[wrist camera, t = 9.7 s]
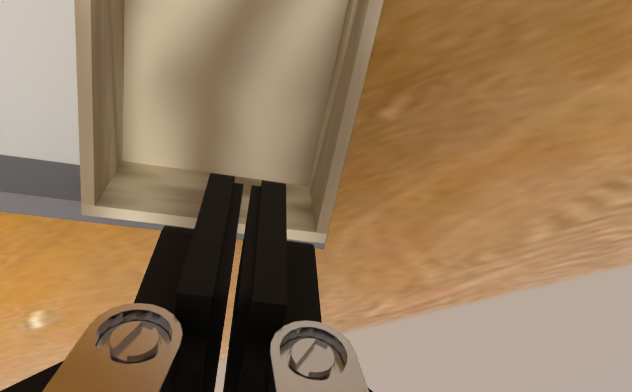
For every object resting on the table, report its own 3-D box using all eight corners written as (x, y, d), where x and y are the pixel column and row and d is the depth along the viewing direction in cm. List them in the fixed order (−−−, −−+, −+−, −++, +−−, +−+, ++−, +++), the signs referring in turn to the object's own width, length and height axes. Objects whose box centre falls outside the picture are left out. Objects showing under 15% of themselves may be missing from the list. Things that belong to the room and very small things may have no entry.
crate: (373, -71, 24) (400, -70, 19) (316, 191, 31) (325, 243, 26) (115, -130, 22) (69, -145, 17) (114, 164, 29) (81, 214, 24)
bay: (387, -108, 24) (412, -115, 20) (317, 205, 33) (324, 249, 28) (-138, -234, 21) (-249, -276, 16) (-67, 155, 29) (-127, 197, 25)
